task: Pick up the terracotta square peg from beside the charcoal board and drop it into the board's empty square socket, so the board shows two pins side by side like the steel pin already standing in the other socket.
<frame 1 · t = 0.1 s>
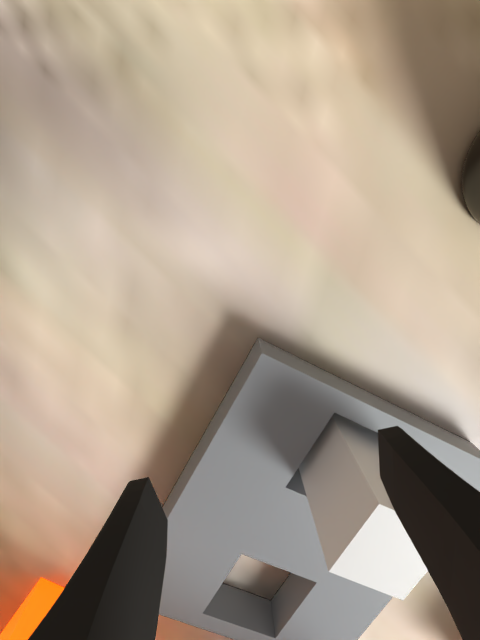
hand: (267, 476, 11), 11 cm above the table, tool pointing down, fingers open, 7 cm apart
orange juice: (61, 632, 27), on the table
socket board: (294, 505, 24), on the table
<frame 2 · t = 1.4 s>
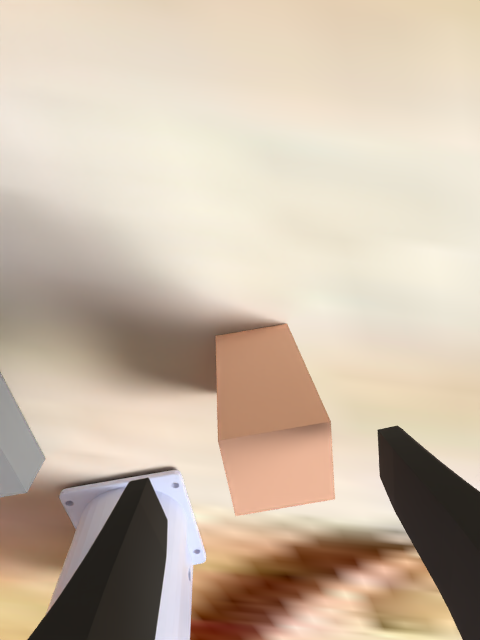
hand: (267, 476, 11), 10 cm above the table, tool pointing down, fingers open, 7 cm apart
peg: (256, 360, 21), on the table
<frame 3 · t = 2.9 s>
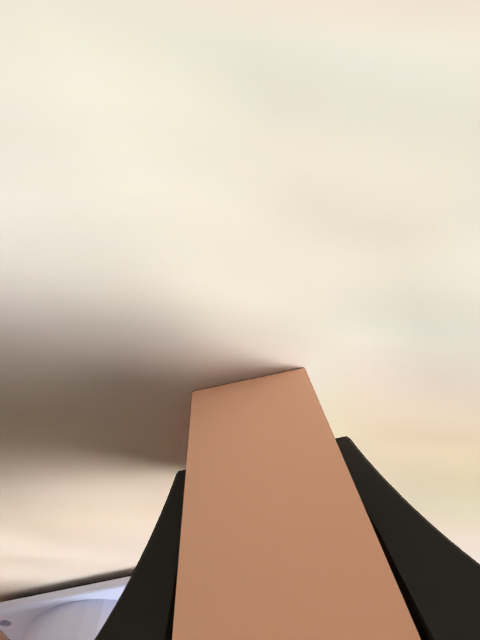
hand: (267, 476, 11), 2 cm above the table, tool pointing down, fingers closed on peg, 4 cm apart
peg: (258, 423, 13), on the table, touching gripper
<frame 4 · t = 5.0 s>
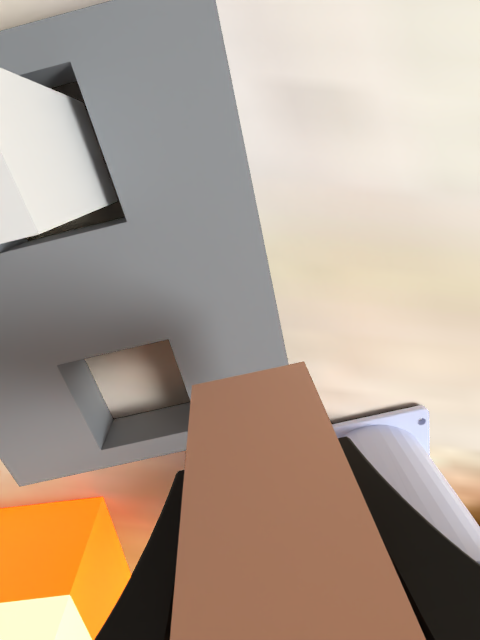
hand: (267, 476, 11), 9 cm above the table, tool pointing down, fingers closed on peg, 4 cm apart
orange juice: (68, 541, 26), on the table
peg: (257, 417, 13), point 7 cm above the table, touching gripper
socket board: (105, 281, 18), on the table
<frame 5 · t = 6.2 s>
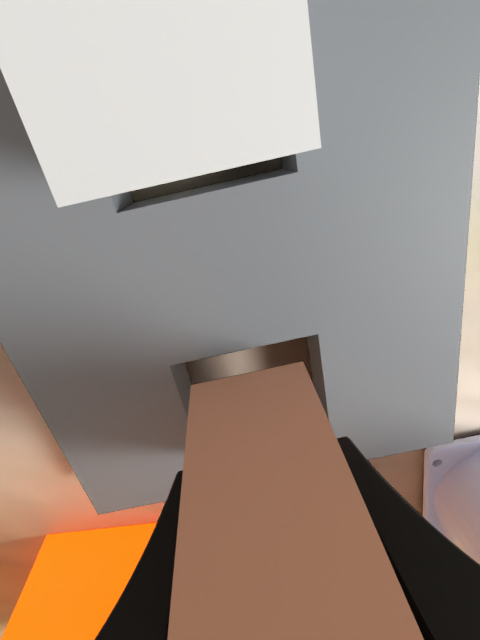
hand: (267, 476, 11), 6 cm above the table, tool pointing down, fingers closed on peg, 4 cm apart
orange juice: (130, 569, 22), on the table
peg: (257, 417, 13), point 3 cm above the table, touching gripper
socket board: (224, 258, 14), on the table
when the fingers open (3 cm above the table, at t = 7.0 s): peg stays where it is, resting in socket board.
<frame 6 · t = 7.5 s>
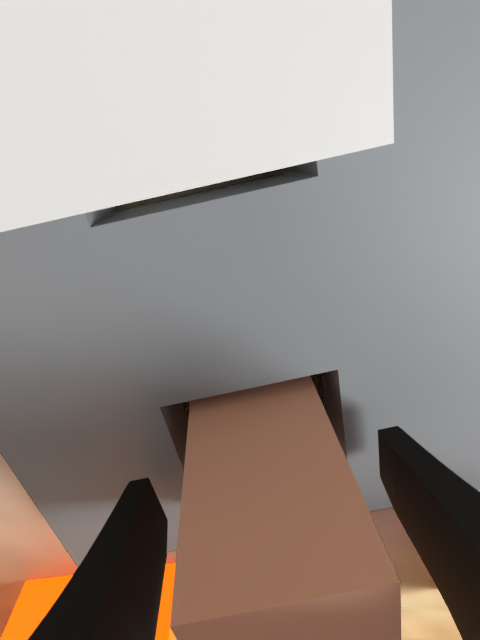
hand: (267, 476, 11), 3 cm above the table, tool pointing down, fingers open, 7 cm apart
orange juice: (121, 613, 20), on the table
peg: (255, 401, 14), resting in socket board
socket board: (225, 277, 12), on the table
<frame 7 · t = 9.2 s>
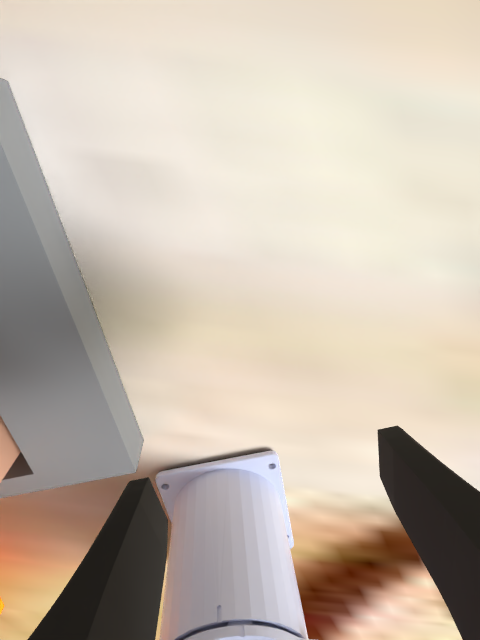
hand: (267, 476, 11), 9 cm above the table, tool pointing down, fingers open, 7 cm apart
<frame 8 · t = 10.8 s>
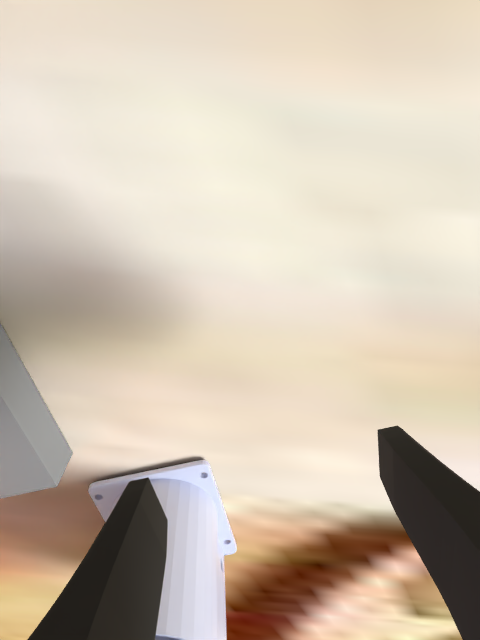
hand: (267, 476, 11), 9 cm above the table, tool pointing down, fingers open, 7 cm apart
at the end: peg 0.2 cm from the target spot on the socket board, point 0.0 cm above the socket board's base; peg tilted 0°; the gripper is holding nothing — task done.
